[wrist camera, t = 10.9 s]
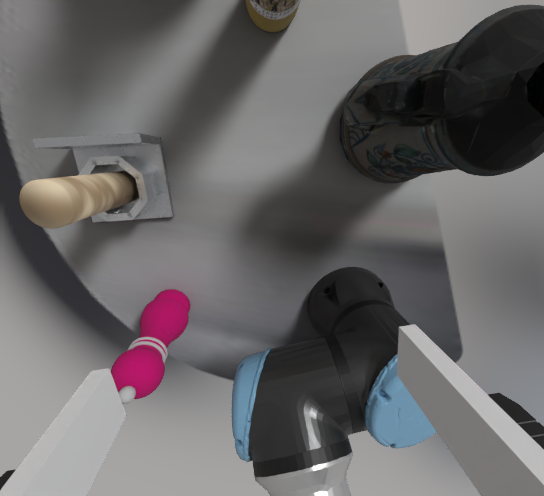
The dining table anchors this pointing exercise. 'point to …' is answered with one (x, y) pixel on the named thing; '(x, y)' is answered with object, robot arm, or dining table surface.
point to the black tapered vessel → (453, 104)
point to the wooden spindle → (76, 197)
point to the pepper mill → (151, 346)
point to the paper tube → (272, 13)
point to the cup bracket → (123, 157)
